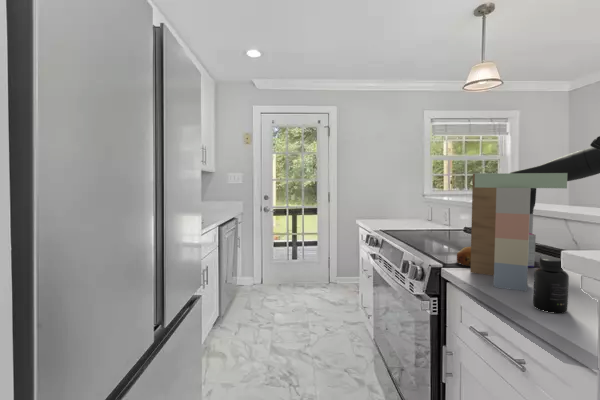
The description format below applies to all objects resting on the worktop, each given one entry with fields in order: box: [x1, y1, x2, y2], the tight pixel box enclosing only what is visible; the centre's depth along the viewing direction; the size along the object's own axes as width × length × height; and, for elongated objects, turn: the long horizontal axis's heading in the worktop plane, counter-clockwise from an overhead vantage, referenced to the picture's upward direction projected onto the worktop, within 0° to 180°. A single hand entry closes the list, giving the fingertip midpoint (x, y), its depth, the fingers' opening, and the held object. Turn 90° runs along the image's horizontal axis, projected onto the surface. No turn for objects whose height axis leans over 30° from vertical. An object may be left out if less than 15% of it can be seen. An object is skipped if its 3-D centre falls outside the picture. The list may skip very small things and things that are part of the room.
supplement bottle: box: [532, 256, 570, 314], centre depth 89 cm, size 7×7×12 cm
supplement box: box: [528, 233, 537, 269], centre depth 133 cm, size 6×6×12 cm
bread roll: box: [456, 246, 471, 267], centre depth 136 cm, size 10×10×8 cm
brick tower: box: [493, 188, 531, 292], centre depth 108 cm, size 8×8×28 cm
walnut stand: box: [469, 173, 496, 276], centre depth 123 cm, size 8×10×32 cm
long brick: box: [474, 172, 568, 189], centre depth 106 cm, size 4×22×4 cm, turn 58°
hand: (593, 140), depth 102 cm, fingers open, 8 cm apart
